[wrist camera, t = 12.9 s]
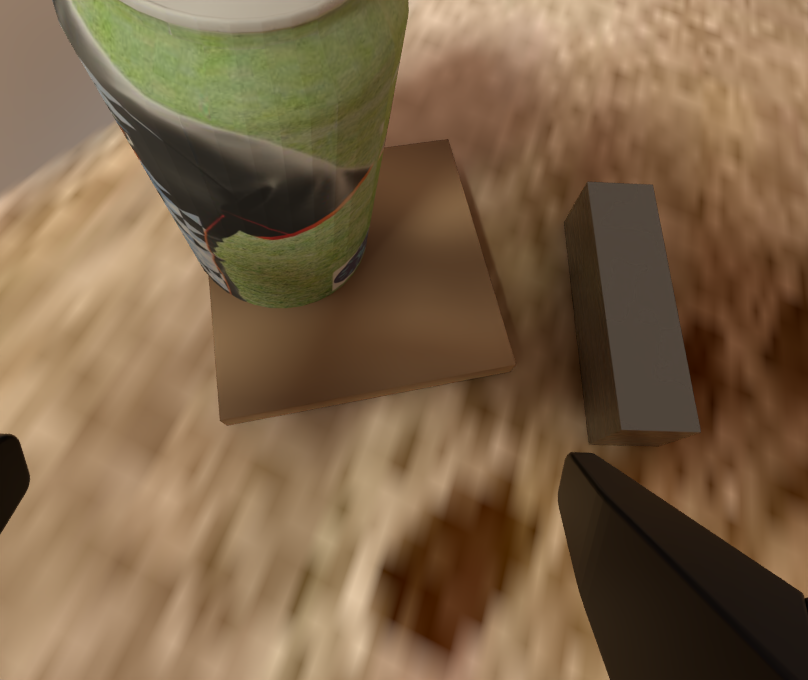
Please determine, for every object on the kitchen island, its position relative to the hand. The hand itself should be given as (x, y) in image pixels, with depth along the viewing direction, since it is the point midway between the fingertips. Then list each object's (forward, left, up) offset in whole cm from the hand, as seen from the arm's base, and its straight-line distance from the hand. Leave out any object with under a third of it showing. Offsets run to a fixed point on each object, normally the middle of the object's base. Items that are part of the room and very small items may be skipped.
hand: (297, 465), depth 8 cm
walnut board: (+7, -4, -8) cm, 12 cm away
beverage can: (+8, -3, -8) cm, 12 cm away
